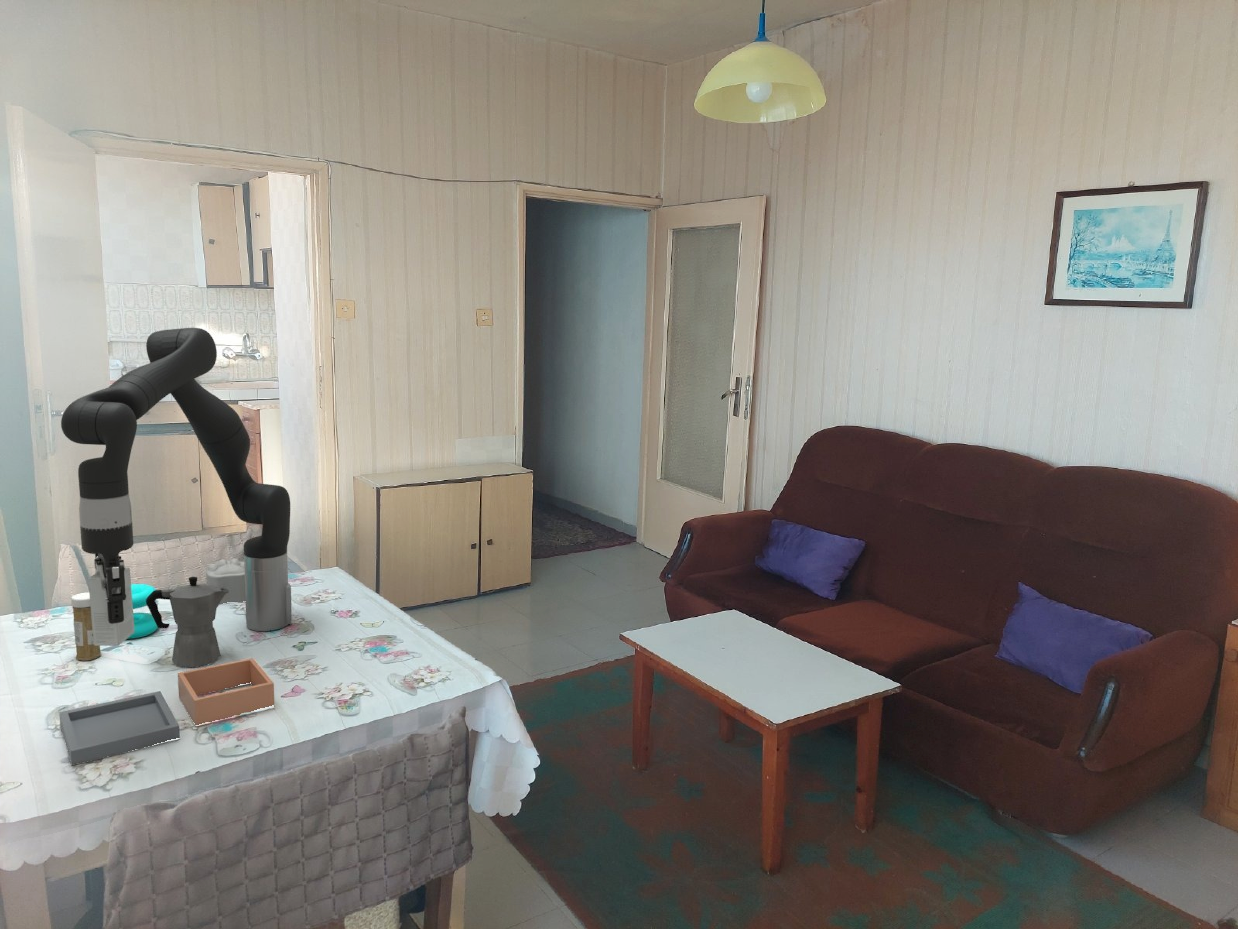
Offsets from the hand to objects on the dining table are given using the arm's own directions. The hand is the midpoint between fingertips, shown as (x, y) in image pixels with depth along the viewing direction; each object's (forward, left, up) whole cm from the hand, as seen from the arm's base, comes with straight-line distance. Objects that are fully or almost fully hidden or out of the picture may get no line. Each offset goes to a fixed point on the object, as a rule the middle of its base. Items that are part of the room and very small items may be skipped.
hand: (112, 615), depth 149 cm
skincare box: (0, 0, -5) cm, 5 cm away
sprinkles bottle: (0, -38, -22) cm, 44 cm away
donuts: (-10, -48, -22) cm, 54 cm away
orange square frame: (-18, -2, -21) cm, 28 cm away
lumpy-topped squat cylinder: (-34, -63, -22) cm, 75 cm away
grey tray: (0, 0, -21) cm, 21 cm away
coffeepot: (-17, -26, -22) cm, 38 cm away
